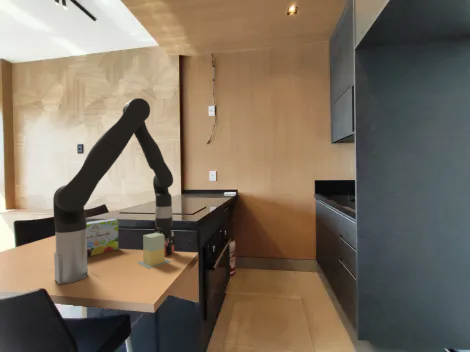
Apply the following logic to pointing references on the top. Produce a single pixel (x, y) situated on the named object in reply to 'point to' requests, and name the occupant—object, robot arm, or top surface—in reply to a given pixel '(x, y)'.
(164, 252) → the brick red
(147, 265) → the baseplate
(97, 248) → the snack box
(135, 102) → the robot arm
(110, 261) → the top surface
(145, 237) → the brick sage
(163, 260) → the brick mustard
